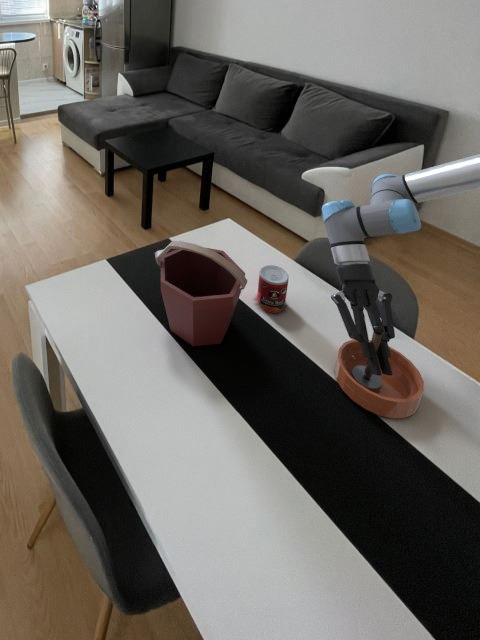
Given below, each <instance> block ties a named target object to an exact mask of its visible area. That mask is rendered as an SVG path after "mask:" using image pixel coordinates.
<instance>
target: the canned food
mask: <svg viewBox="0 0 480 640" xmlns="http://www.w3.org/2000/svg"><path fill="white" fill-rule="evenodd" d="M289 277H290V276H289V274H288V272H287V270H285V269H284V268H283V267H280V266H278V265H274V264H267V265H264V266H262V267H261V268H260V270H259V276H258V283H257V293H256V295H257V296H256V300H257V304H258V305H259V307H260V308H261V309H262V310H264V311H266V312H267V313H274V314H275V313H280V312H281V311H283V310H284V308H285V307H286V299H287V292H288V286H289Z"/></svg>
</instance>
